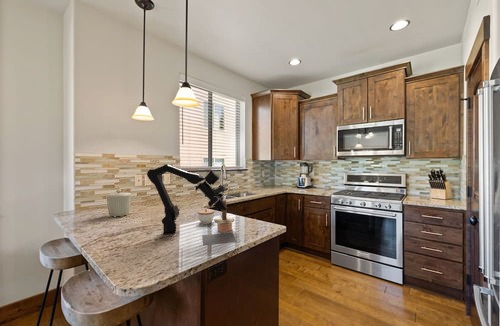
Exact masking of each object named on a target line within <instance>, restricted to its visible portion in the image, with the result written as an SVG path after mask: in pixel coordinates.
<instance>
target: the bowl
mask: <svg viewBox="0 0 500 326" xmlns="http://www.w3.org/2000/svg"><path fill="white" fill-rule="evenodd" d="M216 224H217V225H216V226H217V232H220V233H229V232H231V231H232V230H233V222H232V223H228V224H218V223H216Z"/></svg>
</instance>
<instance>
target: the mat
mask: <svg viewBox="0 0 500 326" xmlns="http://www.w3.org/2000/svg"><path fill="white" fill-rule="evenodd" d="M201 238H202V246H211V245H213V246H214V245H222V244H232V243H238V241H237V238H236V237H235V235H234V233H233V232H221V233H213V234H202V236H201Z"/></svg>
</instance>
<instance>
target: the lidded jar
mask: <svg viewBox="0 0 500 326" xmlns="http://www.w3.org/2000/svg"><path fill="white" fill-rule="evenodd" d="M214 213H215V210H212V209H207V208H205V209H201V210H199V211H198V212H197V217H198V220H199V222H200V223H201V224H203V225H208V224H211V223H212V222H213V221H214V217H215V215H214Z"/></svg>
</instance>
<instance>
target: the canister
mask: <svg viewBox="0 0 500 326" xmlns="http://www.w3.org/2000/svg"><path fill="white" fill-rule="evenodd" d="M115 191H116V192H111V193H108V194H106V195H105V196H104V197H105V198H106V203H107V211H108V212H107V213H108V215H109V216H110V217H111V216H122V217H125V216H124V215H126V216H128V215H127V214H129V213H130V208H131V199H132V195H133V193H130V192H122V189H116V190H115Z"/></svg>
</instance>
